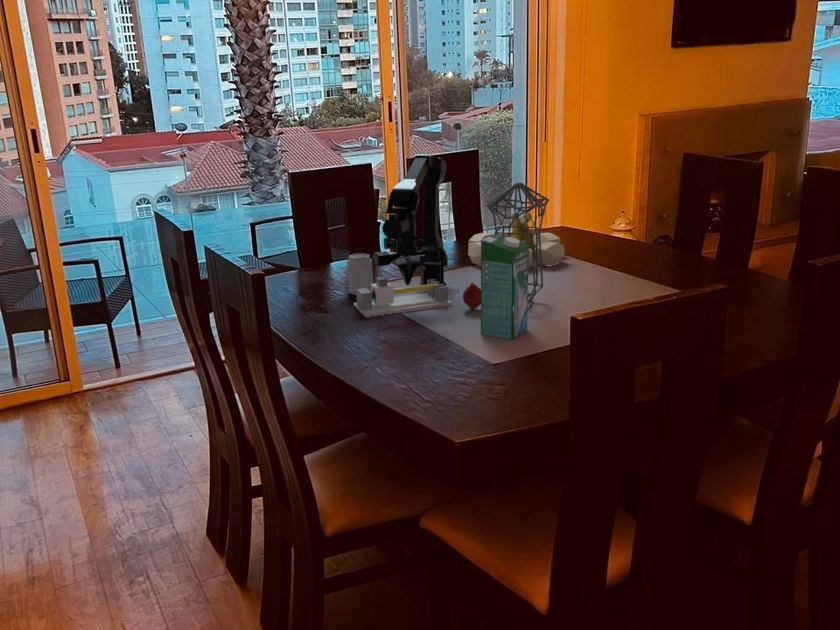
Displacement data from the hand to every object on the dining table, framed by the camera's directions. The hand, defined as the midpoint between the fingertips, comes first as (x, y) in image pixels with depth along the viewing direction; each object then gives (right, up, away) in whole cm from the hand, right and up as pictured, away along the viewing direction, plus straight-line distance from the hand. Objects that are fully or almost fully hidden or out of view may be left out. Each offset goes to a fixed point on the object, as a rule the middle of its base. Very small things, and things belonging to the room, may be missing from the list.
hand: (407, 284), depth 220 cm
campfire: (+38, +11, +52) cm, 65 cm away
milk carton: (+26, -13, -23) cm, 37 cm away
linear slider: (-1, -6, +1) cm, 6 cm away
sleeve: (-7, -5, -2) cm, 9 cm away
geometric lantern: (+32, -6, +1) cm, 32 cm away
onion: (+19, -7, -4) cm, 21 cm away
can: (-14, -2, +15) cm, 21 cm away
